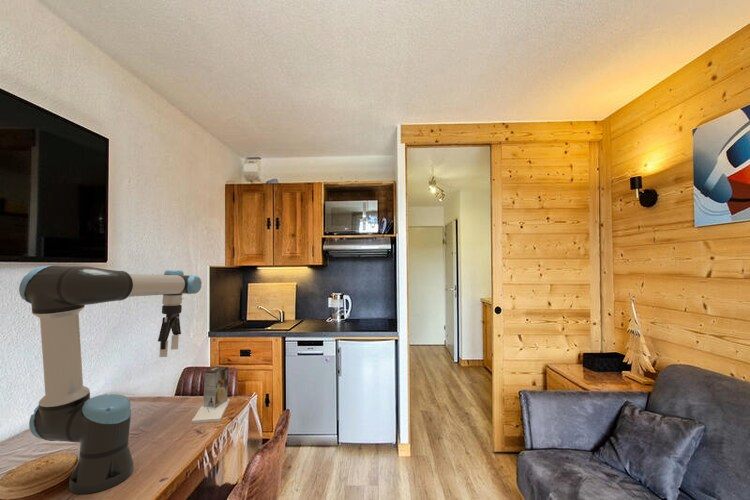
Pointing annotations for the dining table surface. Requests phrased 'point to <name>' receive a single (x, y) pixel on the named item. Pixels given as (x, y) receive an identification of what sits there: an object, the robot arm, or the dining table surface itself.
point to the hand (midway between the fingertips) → (169, 352)
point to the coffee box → (215, 386)
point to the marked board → (210, 413)
